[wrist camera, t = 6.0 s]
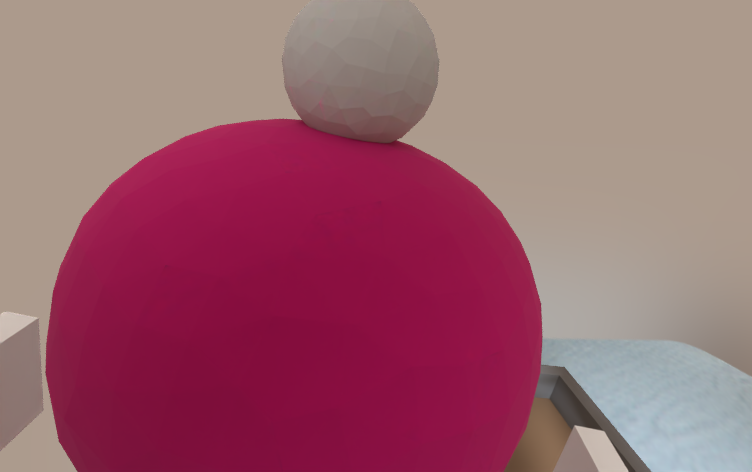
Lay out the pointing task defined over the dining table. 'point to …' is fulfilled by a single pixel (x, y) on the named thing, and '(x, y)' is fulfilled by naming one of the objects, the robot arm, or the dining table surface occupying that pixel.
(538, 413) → the cruet board
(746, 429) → the dining table surface
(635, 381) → the dining table surface
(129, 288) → the pepper mill
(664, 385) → the dining table surface
